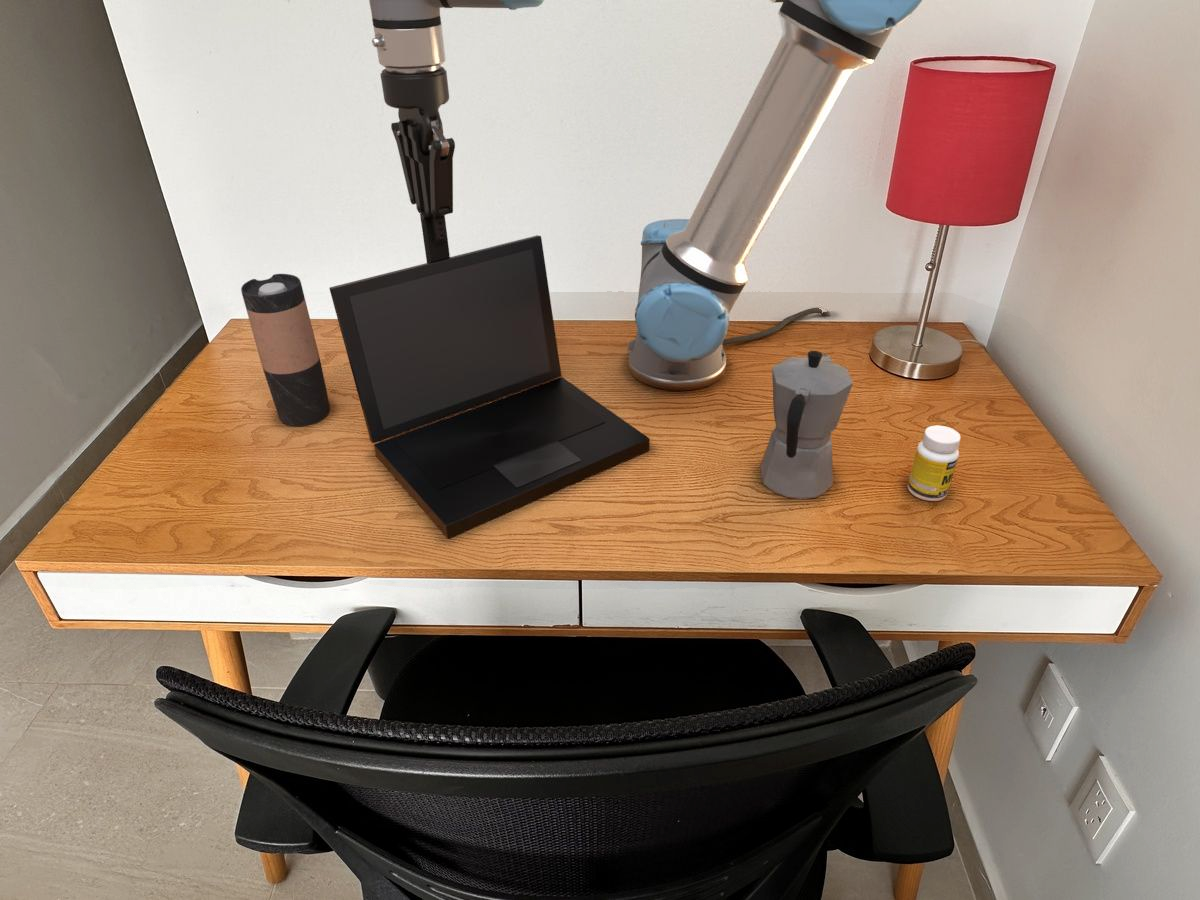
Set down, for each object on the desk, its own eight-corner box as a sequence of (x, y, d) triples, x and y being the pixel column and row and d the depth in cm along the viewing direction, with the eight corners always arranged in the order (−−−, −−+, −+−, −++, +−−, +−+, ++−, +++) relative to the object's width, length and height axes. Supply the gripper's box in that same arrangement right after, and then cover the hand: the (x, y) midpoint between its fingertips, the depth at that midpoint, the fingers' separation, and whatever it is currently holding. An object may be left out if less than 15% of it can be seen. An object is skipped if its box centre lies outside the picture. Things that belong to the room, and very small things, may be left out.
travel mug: (316, 430, 112) (282, 298, 100) (267, 425, 113) (227, 293, 102) (341, 402, 118) (311, 275, 106) (294, 398, 119) (260, 271, 108)
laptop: (649, 450, 106) (649, 437, 105) (448, 539, 92) (445, 525, 91) (562, 388, 121) (562, 376, 119) (376, 456, 106) (373, 443, 105)
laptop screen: (541, 235, 110) (537, 235, 111) (331, 288, 96) (328, 287, 97) (562, 376, 119) (558, 374, 120) (373, 444, 105) (370, 441, 106)
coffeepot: (772, 443, 108) (788, 321, 97) (842, 459, 104) (867, 335, 94) (739, 508, 96) (754, 378, 86) (817, 529, 93) (842, 396, 83)
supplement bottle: (942, 507, 96) (959, 449, 91) (902, 494, 98) (917, 437, 93) (951, 486, 99) (967, 430, 94) (912, 474, 101) (927, 419, 96)
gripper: (360, 63, 94) (392, 254, 107) (406, 79, 85) (434, 285, 99) (418, 56, 97) (442, 243, 111) (468, 71, 89) (487, 271, 102)
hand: (438, 263), depth 105 cm, fingers closed
